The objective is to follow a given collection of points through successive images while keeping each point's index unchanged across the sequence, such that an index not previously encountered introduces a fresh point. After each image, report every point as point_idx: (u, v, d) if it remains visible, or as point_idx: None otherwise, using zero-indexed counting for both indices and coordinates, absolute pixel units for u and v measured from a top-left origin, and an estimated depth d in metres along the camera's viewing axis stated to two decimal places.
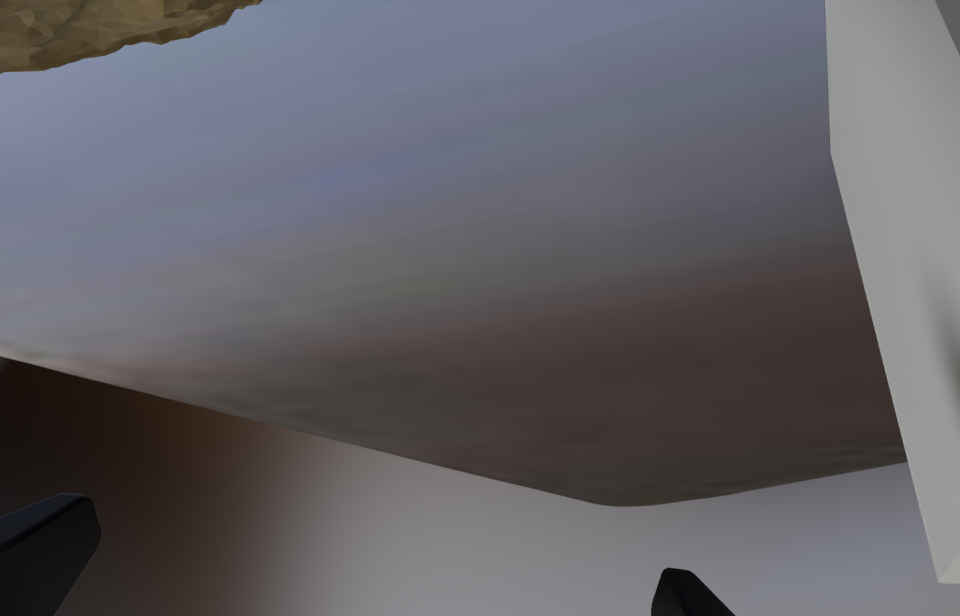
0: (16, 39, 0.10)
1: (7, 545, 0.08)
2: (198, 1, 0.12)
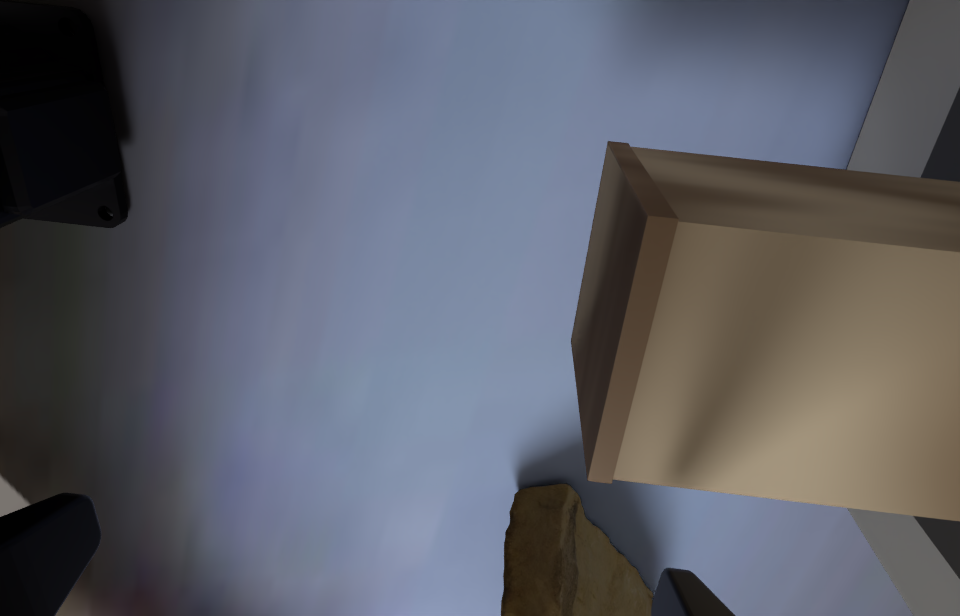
0: None
1: (7, 545, 0.08)
2: None
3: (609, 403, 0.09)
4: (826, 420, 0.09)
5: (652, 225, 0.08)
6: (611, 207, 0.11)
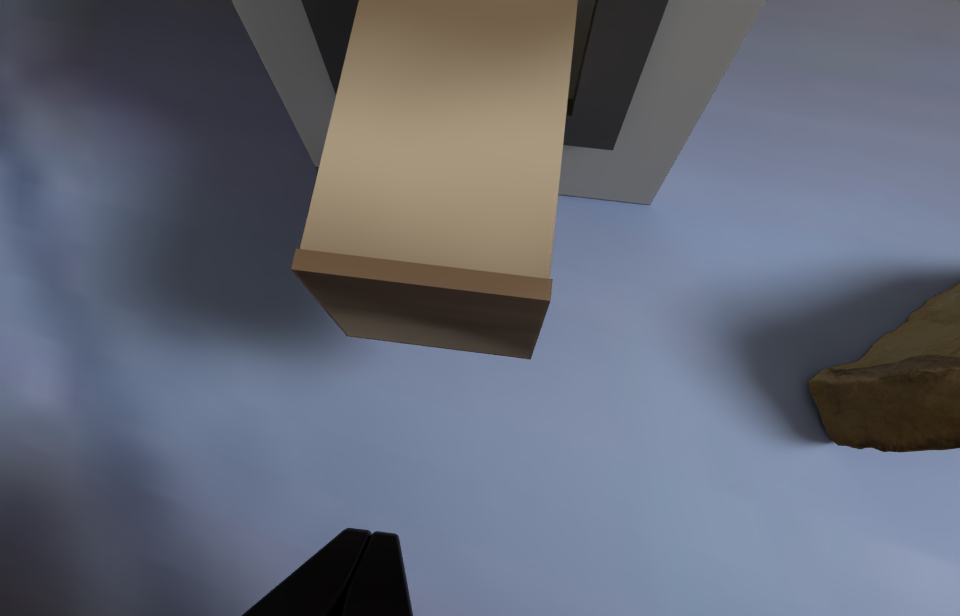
0: None
1: (343, 588, 0.08)
2: None
3: (460, 286, 0.11)
4: (478, 126, 0.12)
5: (300, 265, 0.11)
6: (364, 319, 0.13)
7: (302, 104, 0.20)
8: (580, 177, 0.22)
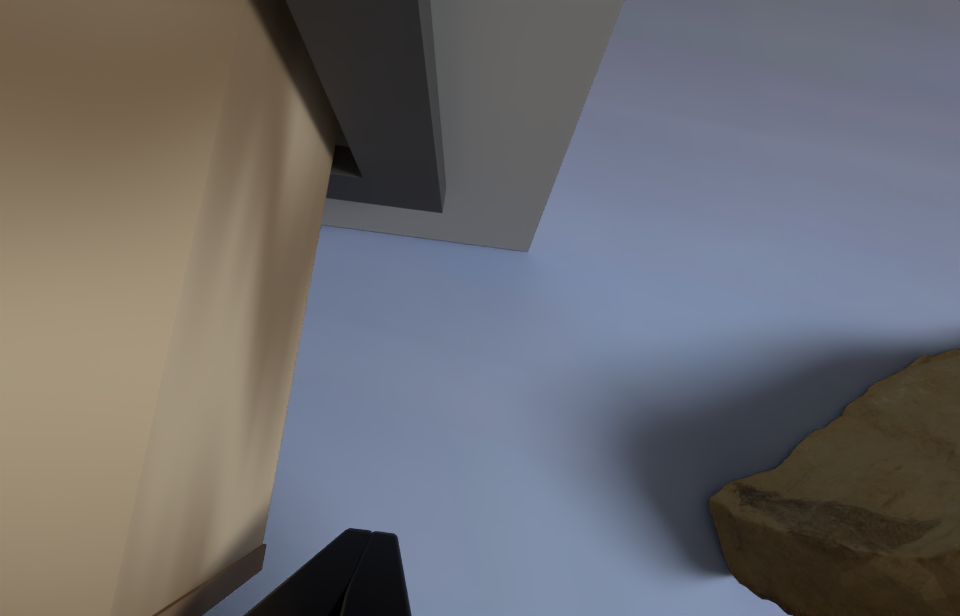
0: None
1: (345, 588, 0.08)
2: None
3: None
4: (9, 315, 0.06)
5: None
6: None
7: None
8: (425, 223, 0.16)
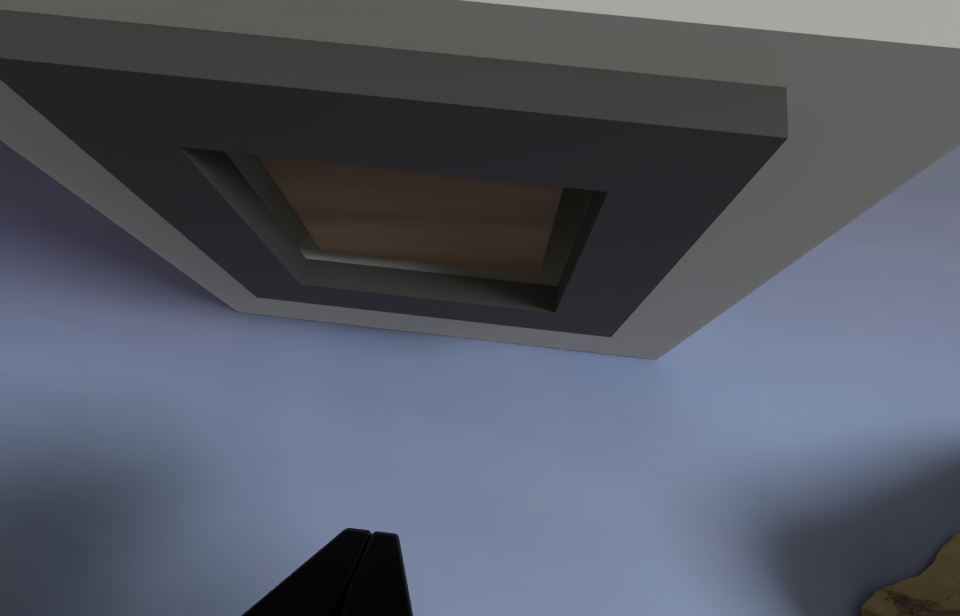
0: None
1: (343, 588, 0.08)
2: None
3: None
4: None
5: None
6: (339, 218, 0.11)
7: (202, 269, 0.15)
8: (568, 337, 0.17)
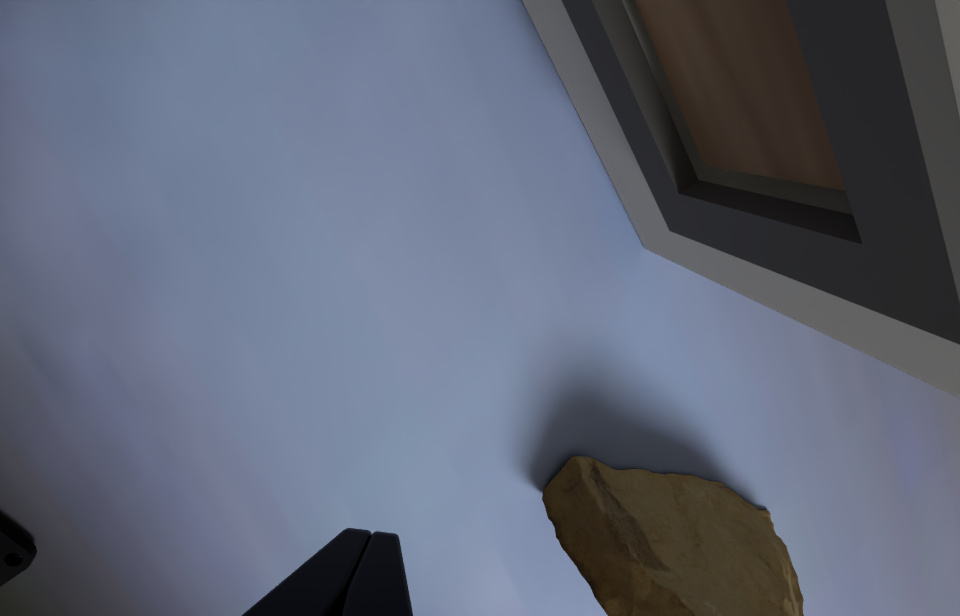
0: None
1: (343, 588, 0.08)
2: (785, 591, 0.22)
3: None
4: None
5: None
6: None
7: None
8: (630, 185, 0.19)
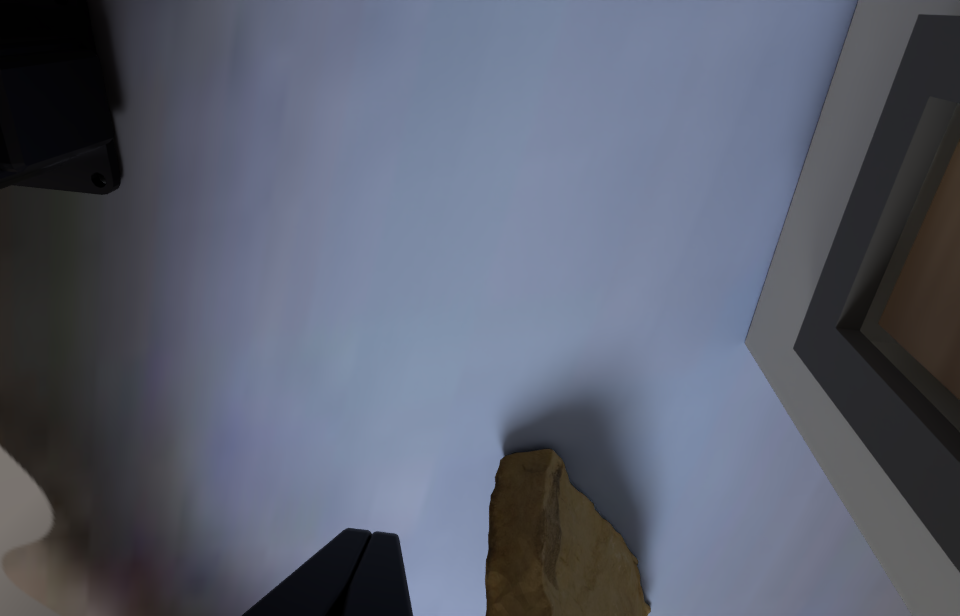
0: None
1: (343, 588, 0.08)
2: None
3: None
4: None
5: None
6: None
7: None
8: (784, 287, 0.19)
